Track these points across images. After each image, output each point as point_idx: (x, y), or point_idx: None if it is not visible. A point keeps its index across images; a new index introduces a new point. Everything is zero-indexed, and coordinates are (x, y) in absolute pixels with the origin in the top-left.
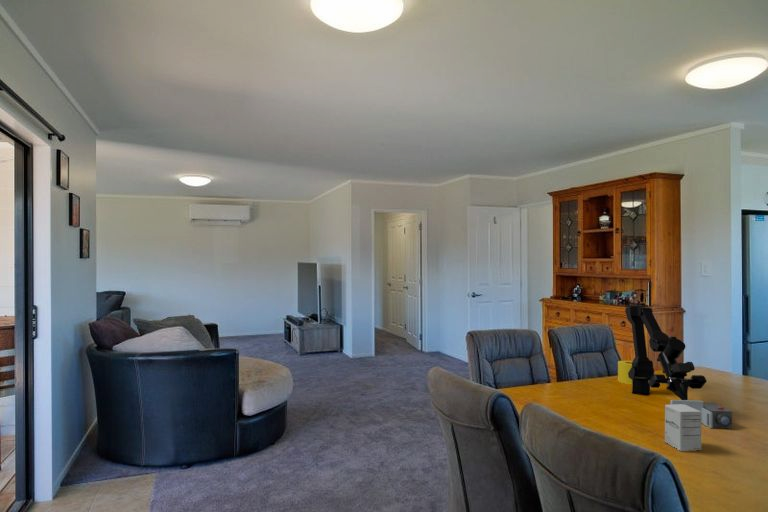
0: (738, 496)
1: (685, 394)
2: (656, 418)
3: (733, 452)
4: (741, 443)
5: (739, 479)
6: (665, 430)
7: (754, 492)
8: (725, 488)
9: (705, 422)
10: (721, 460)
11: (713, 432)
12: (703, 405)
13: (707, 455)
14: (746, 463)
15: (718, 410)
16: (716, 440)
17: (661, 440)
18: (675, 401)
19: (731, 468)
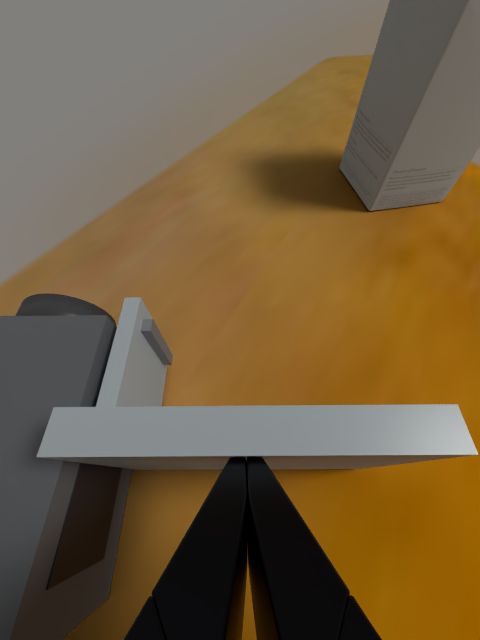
0: (349, 65)
1: (229, 534)
2: (454, 541)
3: (246, 167)
4: (165, 217)
5: (317, 91)
6: (473, 150)
7: (316, 72)
8: (359, 75)
9: (158, 391)
10: (310, 135)
11: (192, 304)
12: (30, 489)
13: (333, 150)
14: (256, 130)
15: (35, 329)
16: (240, 231)
17: (451, 216)
18: (411, 405)
19: (308, 114)
